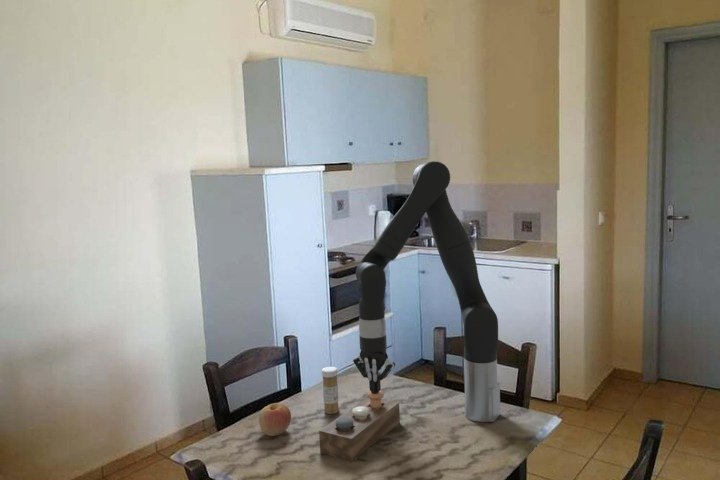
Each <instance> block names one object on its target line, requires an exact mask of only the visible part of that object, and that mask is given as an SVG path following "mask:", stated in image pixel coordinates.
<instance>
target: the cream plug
mask: <svg viewBox="0 0 720 480" xmlns="http://www.w3.org/2000/svg"><path fill="white" fill-rule="evenodd" d="M352 408H353V407H352ZM352 414H353V416H355V418H356V419H360V420H364V419H366V418H367V415H369V408H367V407H363V406H361V407H355V408H353V410H352Z"/></svg>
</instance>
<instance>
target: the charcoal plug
mask: <svg viewBox="0 0 720 480" xmlns="http://www.w3.org/2000/svg"><path fill="white" fill-rule="evenodd" d="M336 427H337V428H339V431H343V432H348V431H349V430H351V427H353V420H352V419H351V418H340V419H338V420H336Z"/></svg>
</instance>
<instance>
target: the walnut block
mask: <svg viewBox="0 0 720 480" xmlns="http://www.w3.org/2000/svg"><path fill="white" fill-rule="evenodd" d="M381 402H382V407H381V408H379V409H376V408H371V407H370V398H368V397H366V398H364V399H363V400H361V401H360V402H359V403H357V404H356V405H354V406H353V407H352V408H350V409H349V410H347V411H345V412H344V413H343V414H341V415H340V416H338V417H337V418H335V419H334V420H332V421H331V422H330V423H328V424H327V425H325V426H323V428H321V429H319V430H318V435H319V436H318V439H319V453H321V454H324V455H328V456H331V457H334V458H338V459H342V460H345V461H349V462H354V461H355V460H356V459H358V458H359V457H360V456H361V455H362V454H364V453H365V452H366V451H367V450H368V449H370V448H371V447H372V446H373V445H374V444H376V443H377V442H378V441H379V440H381V439H382V438H383V437H384V436H385V435H387V434H388V433H389V432H391V430H393V429H394V428H395V427H396V426H397V425H398V424H400V422H401V419H400V402H398V401H394V400H388V399H383V398H381ZM361 406H363V407H367V408H369V415H367V418H366V419H364V420H360V419H356V418H355V416H353V414H352V410H353V408H355V407H361ZM340 418H351V419H352V420H353V427H351V430H349V431H348V432H343V431H339V428H337V427H336V420H338V419H340Z"/></svg>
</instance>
